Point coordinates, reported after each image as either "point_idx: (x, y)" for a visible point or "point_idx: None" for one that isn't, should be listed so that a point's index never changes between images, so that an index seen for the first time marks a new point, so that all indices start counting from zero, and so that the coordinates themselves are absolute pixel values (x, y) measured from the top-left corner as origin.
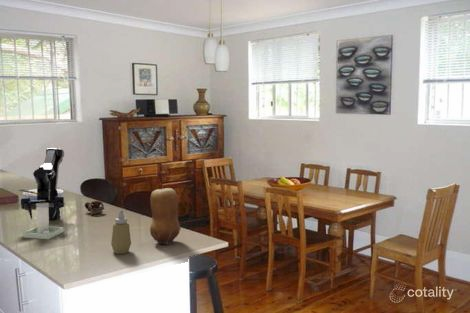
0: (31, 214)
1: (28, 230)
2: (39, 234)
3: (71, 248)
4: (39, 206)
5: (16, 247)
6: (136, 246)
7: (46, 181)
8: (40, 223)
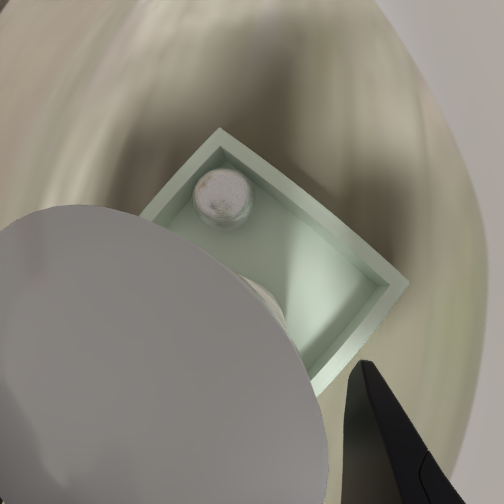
0: (374, 395)
1: (357, 347)
2: (283, 174)
3: (162, 4)
4: (221, 263)
5: (420, 101)
6: (11, 20)
7: None
8: (251, 280)
